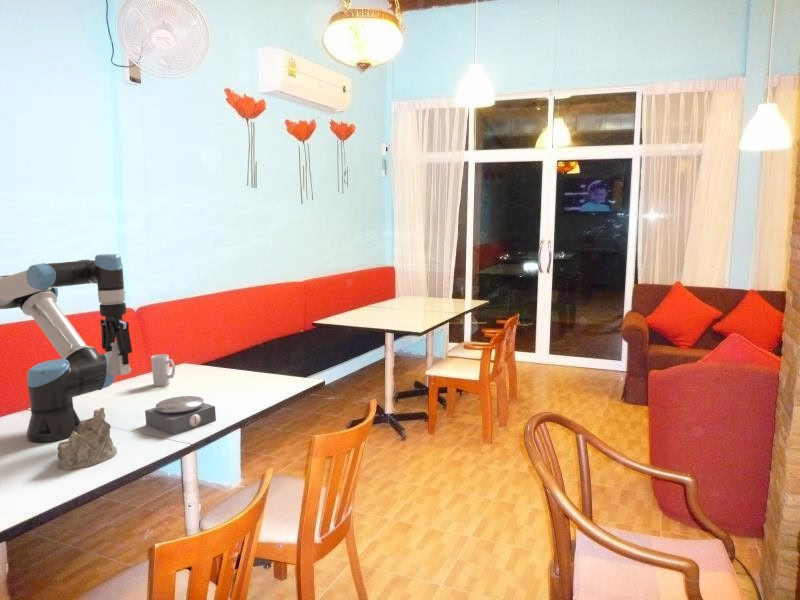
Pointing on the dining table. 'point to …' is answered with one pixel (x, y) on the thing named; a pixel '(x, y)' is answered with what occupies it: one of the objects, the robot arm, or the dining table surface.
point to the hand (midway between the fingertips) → (118, 372)
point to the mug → (162, 369)
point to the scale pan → (179, 404)
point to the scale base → (180, 419)
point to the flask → (114, 361)
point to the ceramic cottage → (87, 444)
